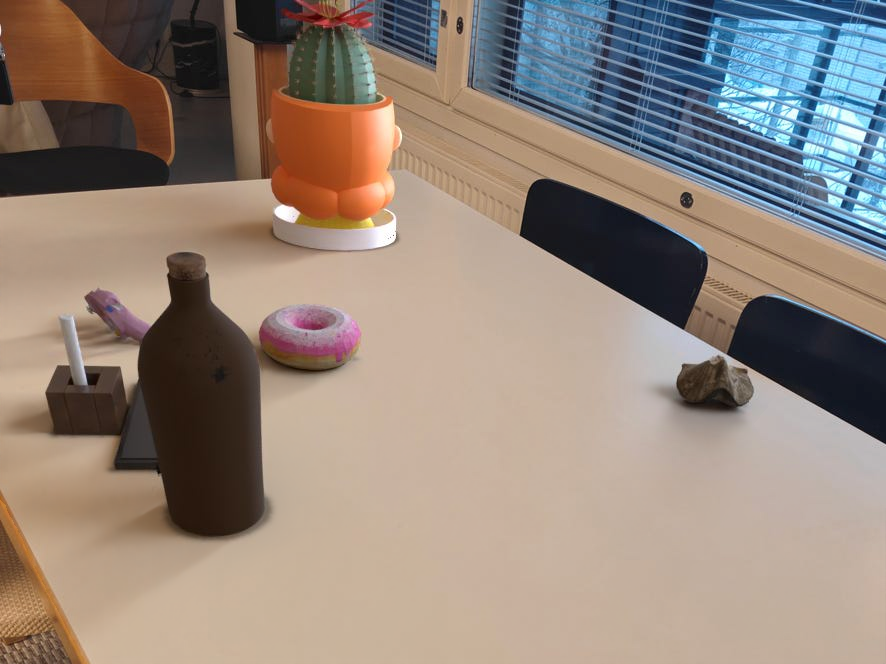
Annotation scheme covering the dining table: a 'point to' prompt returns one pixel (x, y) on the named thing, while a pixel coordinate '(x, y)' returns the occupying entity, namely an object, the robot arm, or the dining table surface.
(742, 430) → the dining table surface
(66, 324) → the stylus
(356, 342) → the donut
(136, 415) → the tablet
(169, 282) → the rum bottle
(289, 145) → the potted cactus
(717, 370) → the fossilized seashell
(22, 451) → the dining table surface
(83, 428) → the pen holder
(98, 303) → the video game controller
